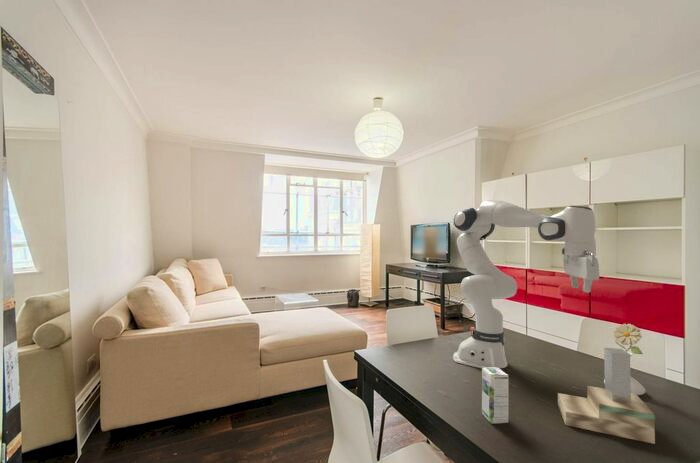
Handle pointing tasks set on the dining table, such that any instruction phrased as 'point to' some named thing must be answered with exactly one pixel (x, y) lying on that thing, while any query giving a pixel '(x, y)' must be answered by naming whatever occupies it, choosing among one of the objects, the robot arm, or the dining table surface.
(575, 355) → the dining table surface
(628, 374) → the grey column
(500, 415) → the syrup box
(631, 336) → the flower in vase
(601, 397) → the step stand
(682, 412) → the dining table surface
